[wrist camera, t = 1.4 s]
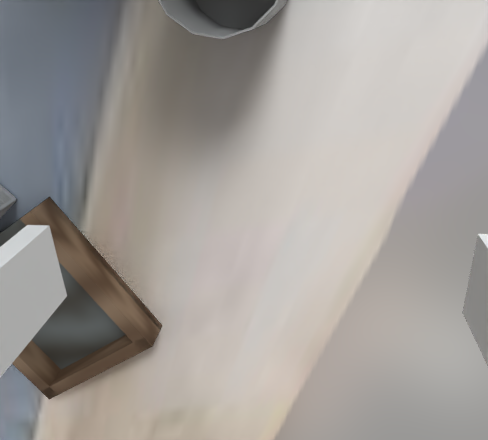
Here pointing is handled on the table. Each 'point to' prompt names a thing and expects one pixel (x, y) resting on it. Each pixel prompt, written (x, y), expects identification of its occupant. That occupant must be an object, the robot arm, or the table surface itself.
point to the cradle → (81, 312)
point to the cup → (221, 15)
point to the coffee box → (5, 200)
